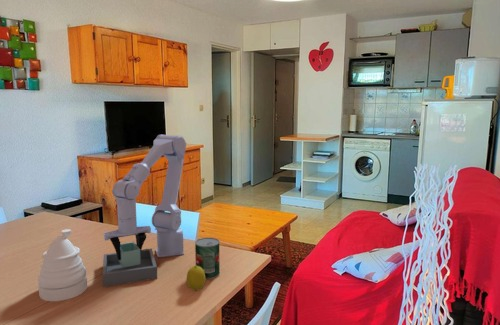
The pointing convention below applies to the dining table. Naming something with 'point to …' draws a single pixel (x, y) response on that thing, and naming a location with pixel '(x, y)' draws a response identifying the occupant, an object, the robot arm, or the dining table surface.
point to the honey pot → (62, 271)
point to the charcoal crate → (128, 269)
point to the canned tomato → (208, 256)
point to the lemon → (196, 278)
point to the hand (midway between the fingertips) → (128, 256)
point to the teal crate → (129, 254)
